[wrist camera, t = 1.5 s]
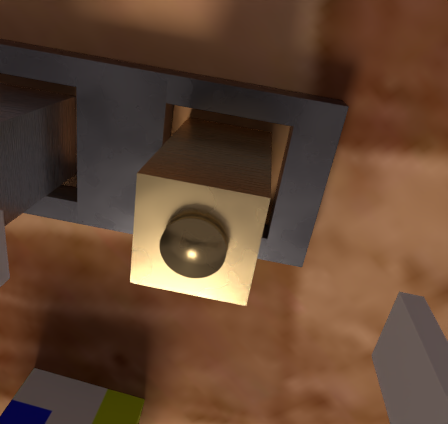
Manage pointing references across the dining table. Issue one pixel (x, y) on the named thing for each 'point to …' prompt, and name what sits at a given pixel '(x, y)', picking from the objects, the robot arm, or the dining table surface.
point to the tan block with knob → (202, 211)
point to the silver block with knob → (34, 146)
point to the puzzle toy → (69, 403)
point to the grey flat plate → (161, 131)
